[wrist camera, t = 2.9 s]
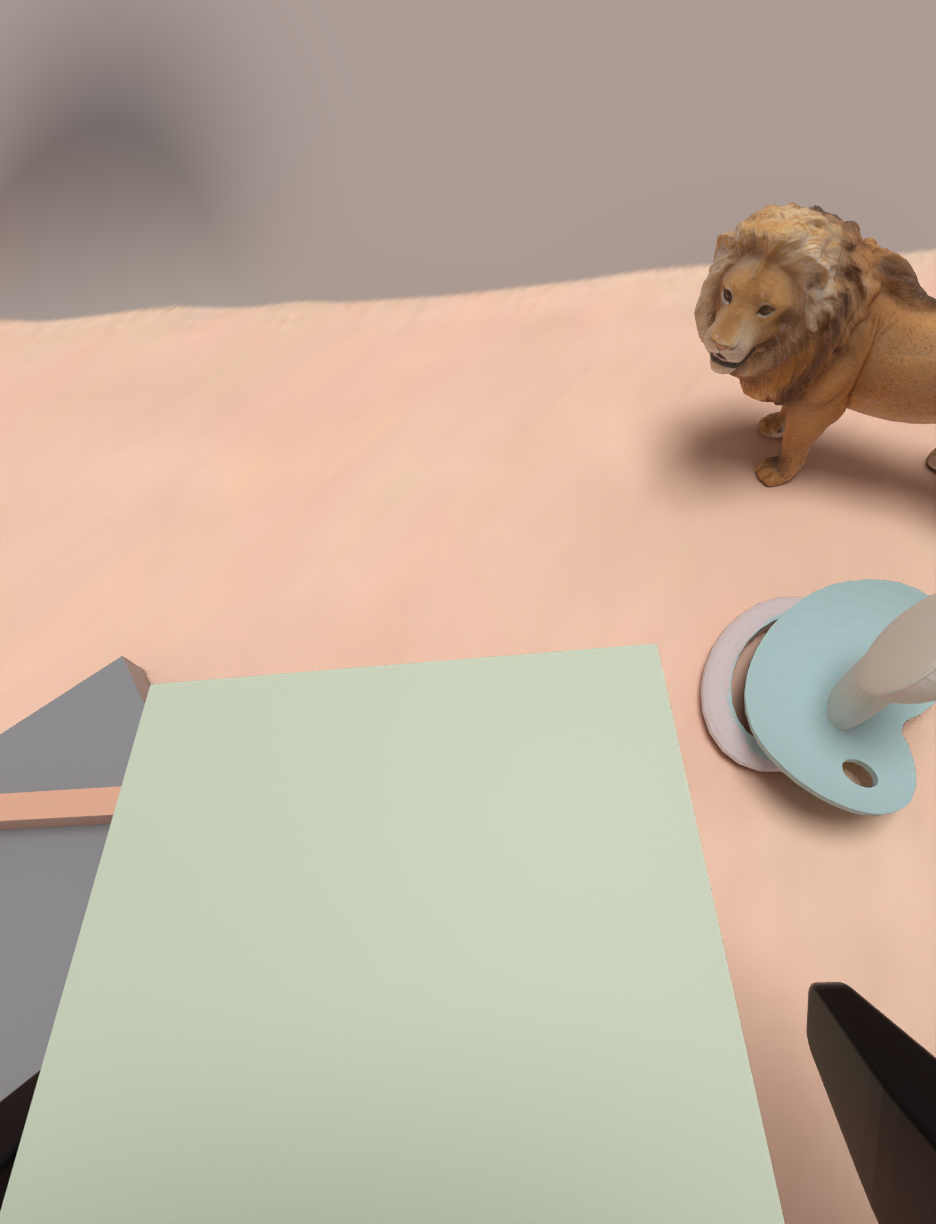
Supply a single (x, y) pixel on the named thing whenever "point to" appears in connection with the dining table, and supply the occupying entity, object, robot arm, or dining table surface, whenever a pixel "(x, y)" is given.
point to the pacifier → (829, 689)
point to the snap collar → (58, 808)
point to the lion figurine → (817, 328)
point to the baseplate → (55, 851)
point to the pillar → (401, 964)
